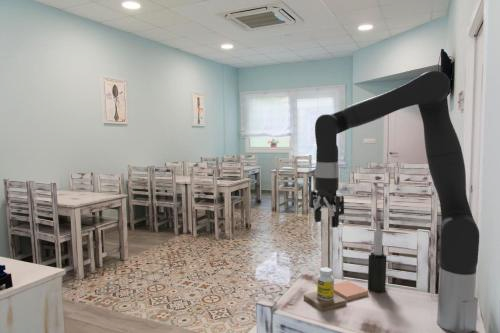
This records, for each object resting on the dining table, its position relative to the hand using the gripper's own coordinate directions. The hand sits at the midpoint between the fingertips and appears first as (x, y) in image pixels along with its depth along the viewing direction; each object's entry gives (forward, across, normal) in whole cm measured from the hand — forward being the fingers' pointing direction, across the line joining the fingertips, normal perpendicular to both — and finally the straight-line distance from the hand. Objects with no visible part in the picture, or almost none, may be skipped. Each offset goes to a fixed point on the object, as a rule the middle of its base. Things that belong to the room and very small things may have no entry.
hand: (326, 224), depth 119 cm
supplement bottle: (+25, 0, 0) cm, 25 cm away
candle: (+27, -1, -23) cm, 35 cm away
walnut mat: (+27, 0, 0) cm, 27 cm away
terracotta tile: (+27, +2, -12) cm, 29 cm away
